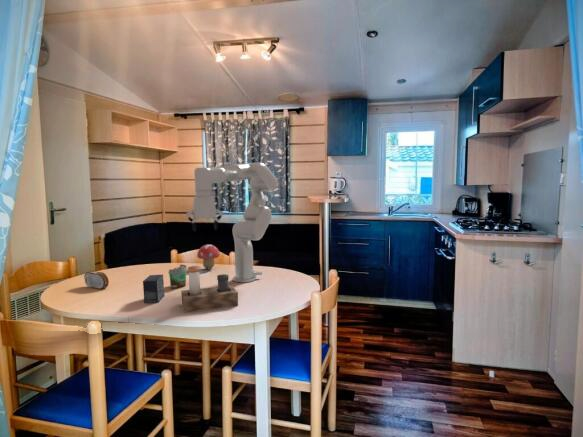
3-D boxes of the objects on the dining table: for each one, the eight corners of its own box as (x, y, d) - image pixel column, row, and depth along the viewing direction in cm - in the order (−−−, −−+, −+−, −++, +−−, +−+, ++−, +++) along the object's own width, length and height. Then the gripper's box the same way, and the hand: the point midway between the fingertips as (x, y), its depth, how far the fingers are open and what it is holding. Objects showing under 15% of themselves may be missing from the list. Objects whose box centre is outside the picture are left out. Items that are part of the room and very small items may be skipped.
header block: (232, 298, 166) (231, 285, 165) (238, 306, 154) (237, 292, 154) (181, 304, 158) (181, 290, 157) (184, 313, 146) (183, 298, 146)
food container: (180, 290, 179) (179, 270, 178) (169, 289, 180) (168, 269, 179) (192, 283, 191) (191, 264, 190) (181, 282, 192) (180, 264, 191)
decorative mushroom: (212, 272, 214) (211, 247, 213) (193, 270, 219) (192, 245, 217) (224, 267, 226) (223, 243, 225) (206, 265, 231) (205, 242, 230)
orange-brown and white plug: (200, 293, 156) (199, 265, 155) (201, 296, 152) (200, 268, 151) (188, 294, 155) (187, 266, 154) (189, 297, 150) (188, 269, 149)
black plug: (228, 300, 161) (227, 273, 160) (230, 303, 157) (229, 276, 156) (217, 301, 159) (216, 275, 158) (219, 305, 155) (218, 277, 154)
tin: (109, 288, 182) (108, 272, 181) (104, 290, 179) (103, 273, 178) (89, 285, 188) (88, 269, 187) (83, 287, 185) (82, 271, 185)
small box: (150, 296, 169) (149, 274, 168) (164, 296, 169) (163, 274, 168) (143, 304, 158) (142, 280, 157) (158, 303, 159) (157, 280, 158)
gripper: (220, 193, 177) (222, 228, 179) (183, 194, 170) (185, 230, 172) (223, 193, 170) (225, 230, 172) (185, 195, 163) (187, 232, 165)
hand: (205, 230), depth 172 cm, fingers open, 9 cm apart
